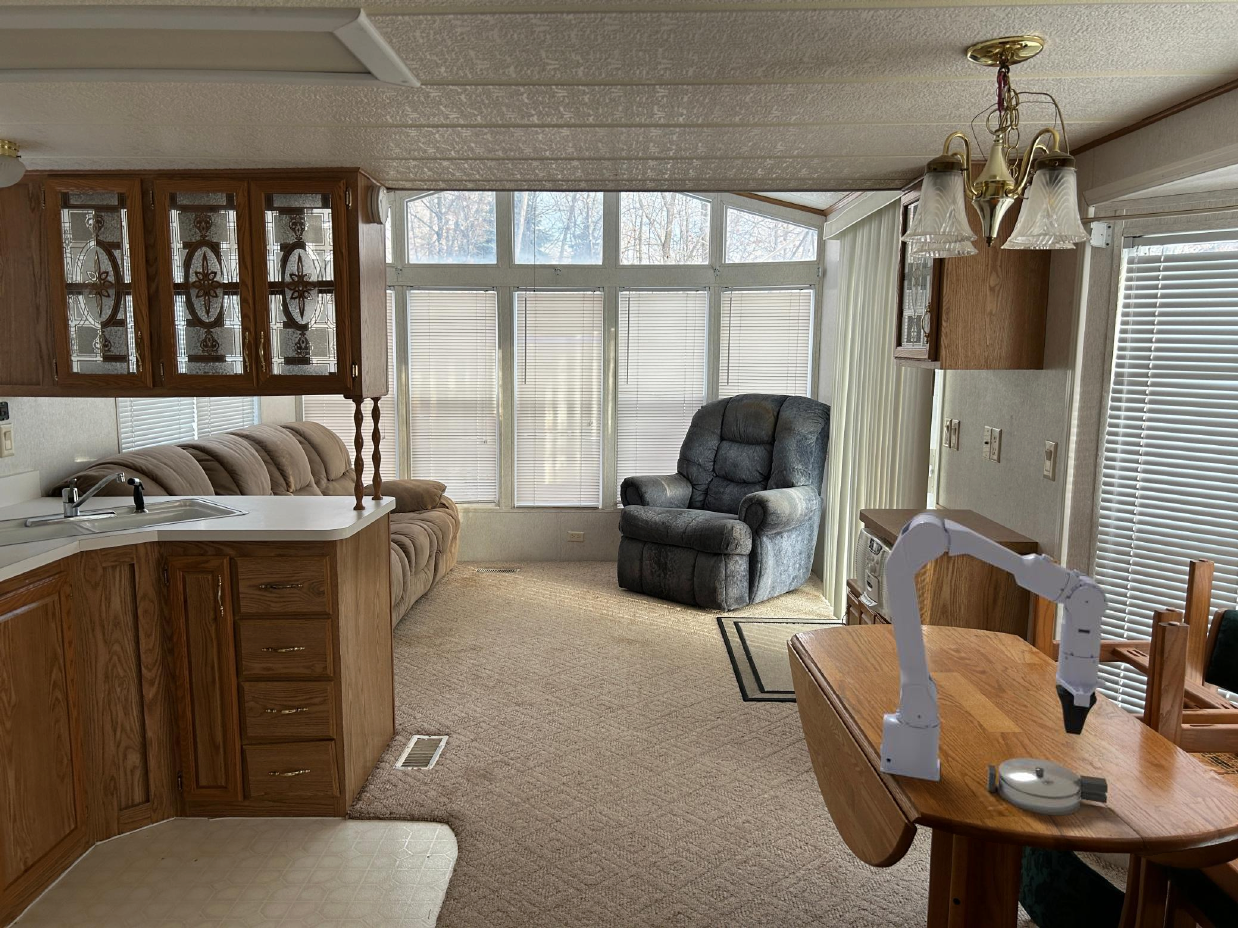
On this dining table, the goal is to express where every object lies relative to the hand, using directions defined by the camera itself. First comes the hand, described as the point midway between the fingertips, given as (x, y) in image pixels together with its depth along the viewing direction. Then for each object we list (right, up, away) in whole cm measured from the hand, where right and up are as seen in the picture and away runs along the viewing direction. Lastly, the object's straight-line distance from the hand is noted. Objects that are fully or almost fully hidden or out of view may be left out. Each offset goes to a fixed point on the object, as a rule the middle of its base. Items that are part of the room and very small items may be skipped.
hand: (1072, 732), depth 139 cm
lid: (-4, -8, -1) cm, 9 cm away
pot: (-6, -10, 0) cm, 12 cm away
